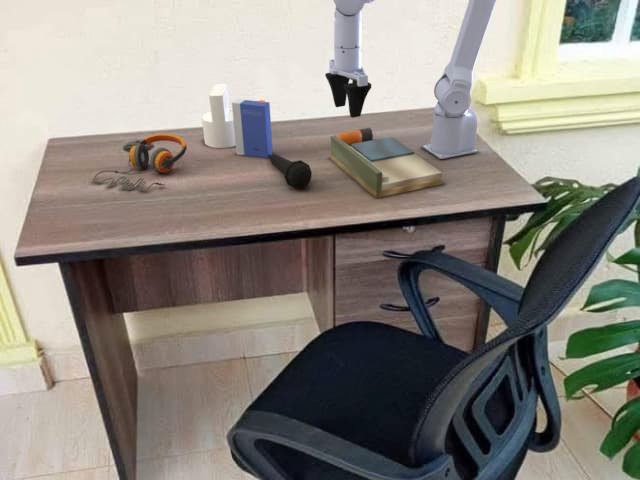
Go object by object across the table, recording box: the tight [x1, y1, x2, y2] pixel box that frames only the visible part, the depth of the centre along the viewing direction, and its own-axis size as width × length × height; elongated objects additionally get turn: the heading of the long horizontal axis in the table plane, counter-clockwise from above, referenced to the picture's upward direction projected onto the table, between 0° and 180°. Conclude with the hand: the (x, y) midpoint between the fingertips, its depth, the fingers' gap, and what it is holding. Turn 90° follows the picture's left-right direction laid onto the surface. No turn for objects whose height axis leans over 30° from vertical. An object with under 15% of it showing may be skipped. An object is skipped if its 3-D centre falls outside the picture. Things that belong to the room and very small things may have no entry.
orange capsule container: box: [336, 127, 374, 146], centre depth 153 cm, size 9×3×3 cm, turn 113°
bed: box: [330, 135, 444, 199], centre depth 139 cm, size 15×22×5 cm
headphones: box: [93, 133, 188, 192], centre depth 140 cm, size 17×5×20 cm
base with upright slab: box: [201, 83, 236, 149], centre depth 153 cm, size 9×9×12 cm
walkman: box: [231, 98, 274, 159], centre depth 146 cm, size 8×3×12 cm, turn 71°
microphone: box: [268, 153, 313, 190], centre depth 139 cm, size 6×6×20 cm
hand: (347, 111), depth 143 cm, fingers open, 7 cm apart
